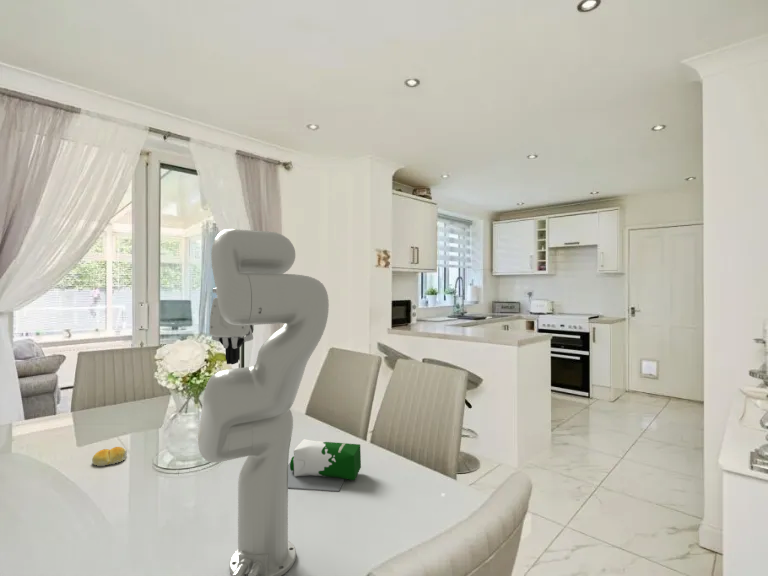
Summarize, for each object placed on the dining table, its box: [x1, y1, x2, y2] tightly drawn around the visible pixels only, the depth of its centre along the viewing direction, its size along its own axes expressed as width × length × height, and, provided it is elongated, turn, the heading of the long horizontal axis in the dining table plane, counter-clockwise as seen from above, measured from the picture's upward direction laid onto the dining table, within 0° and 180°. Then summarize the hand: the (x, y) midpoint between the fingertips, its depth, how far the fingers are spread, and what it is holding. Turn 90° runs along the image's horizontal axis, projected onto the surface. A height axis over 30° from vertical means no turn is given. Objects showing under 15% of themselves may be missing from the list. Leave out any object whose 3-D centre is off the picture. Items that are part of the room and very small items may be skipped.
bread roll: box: [91, 446, 128, 467], centre depth 127 cm, size 8×9×4 cm
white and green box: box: [290, 438, 362, 481], centre depth 118 cm, size 9×9×20 cm
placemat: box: [288, 462, 345, 492], centre depth 117 cm, size 16×19×1 cm
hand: (232, 363), depth 104 cm, fingers closed
